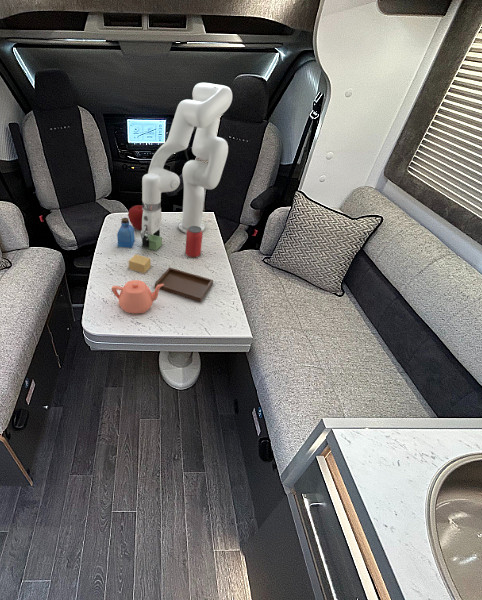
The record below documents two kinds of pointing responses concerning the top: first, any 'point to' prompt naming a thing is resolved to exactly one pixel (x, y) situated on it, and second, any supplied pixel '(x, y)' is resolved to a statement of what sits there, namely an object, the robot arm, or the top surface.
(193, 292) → the brown tray
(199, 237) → the beer can
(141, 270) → the yellow rectangular block
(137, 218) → the apple
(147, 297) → the teapot
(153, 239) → the green block
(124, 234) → the perfume bottle
